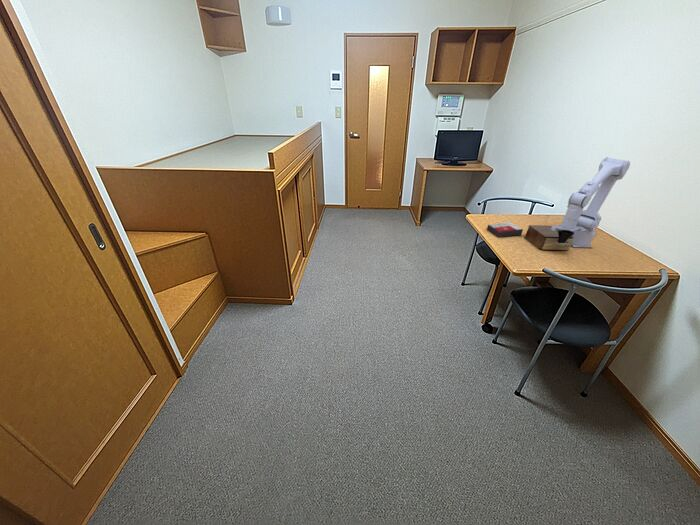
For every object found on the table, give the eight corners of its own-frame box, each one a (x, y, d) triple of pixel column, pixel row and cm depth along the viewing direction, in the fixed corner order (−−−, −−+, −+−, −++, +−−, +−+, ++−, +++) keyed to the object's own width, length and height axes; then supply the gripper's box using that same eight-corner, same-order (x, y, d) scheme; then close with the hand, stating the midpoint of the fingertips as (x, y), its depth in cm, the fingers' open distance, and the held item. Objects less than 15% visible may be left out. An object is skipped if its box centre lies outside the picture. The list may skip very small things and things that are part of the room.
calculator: (487, 223, 169) (510, 220, 172) (486, 230, 172) (508, 227, 174) (500, 231, 160) (523, 228, 163) (498, 238, 162) (521, 235, 165)
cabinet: (567, 250, 151) (573, 237, 147) (540, 250, 150) (545, 236, 147) (549, 238, 164) (555, 225, 160) (524, 237, 163) (529, 225, 159)
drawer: (575, 254, 145) (580, 244, 142) (549, 254, 145) (553, 243, 142) (552, 238, 161) (556, 228, 158) (528, 238, 161) (532, 228, 158)
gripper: (562, 221, 136) (551, 247, 142) (592, 221, 136) (580, 247, 143) (552, 215, 142) (542, 241, 148) (581, 216, 143) (570, 241, 149)
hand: (560, 243), depth 146 cm, fingers closed, pressing on drawer
